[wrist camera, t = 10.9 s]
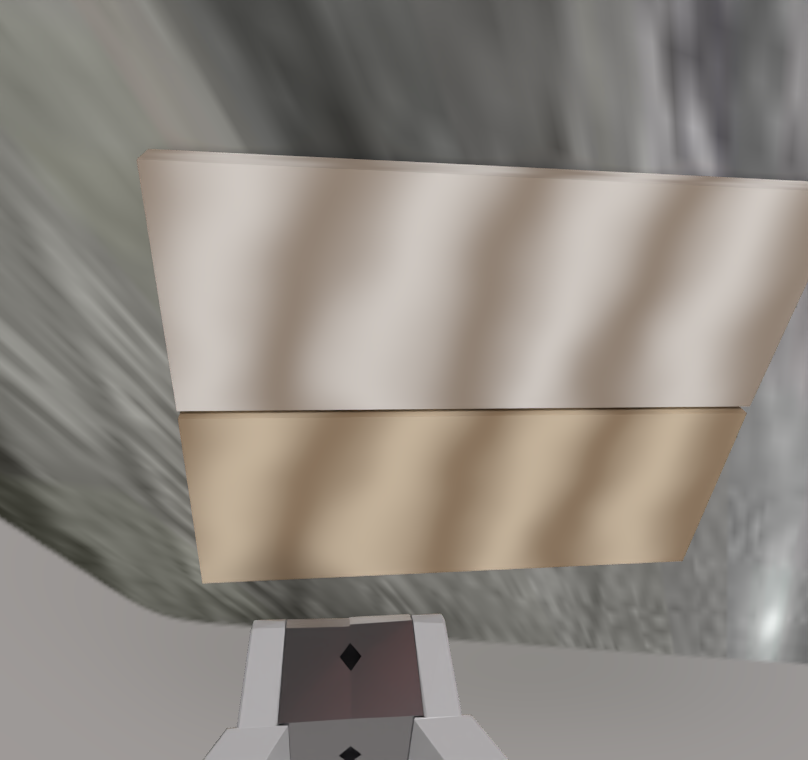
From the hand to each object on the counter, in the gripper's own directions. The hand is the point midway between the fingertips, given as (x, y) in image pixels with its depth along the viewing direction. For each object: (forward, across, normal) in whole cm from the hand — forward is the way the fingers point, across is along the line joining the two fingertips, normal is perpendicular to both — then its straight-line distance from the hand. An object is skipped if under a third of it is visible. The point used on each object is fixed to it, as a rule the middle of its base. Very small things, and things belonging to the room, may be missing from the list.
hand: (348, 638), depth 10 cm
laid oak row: (+17, -6, +11) cm, 21 cm away
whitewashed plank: (+17, -6, +1) cm, 18 cm away
